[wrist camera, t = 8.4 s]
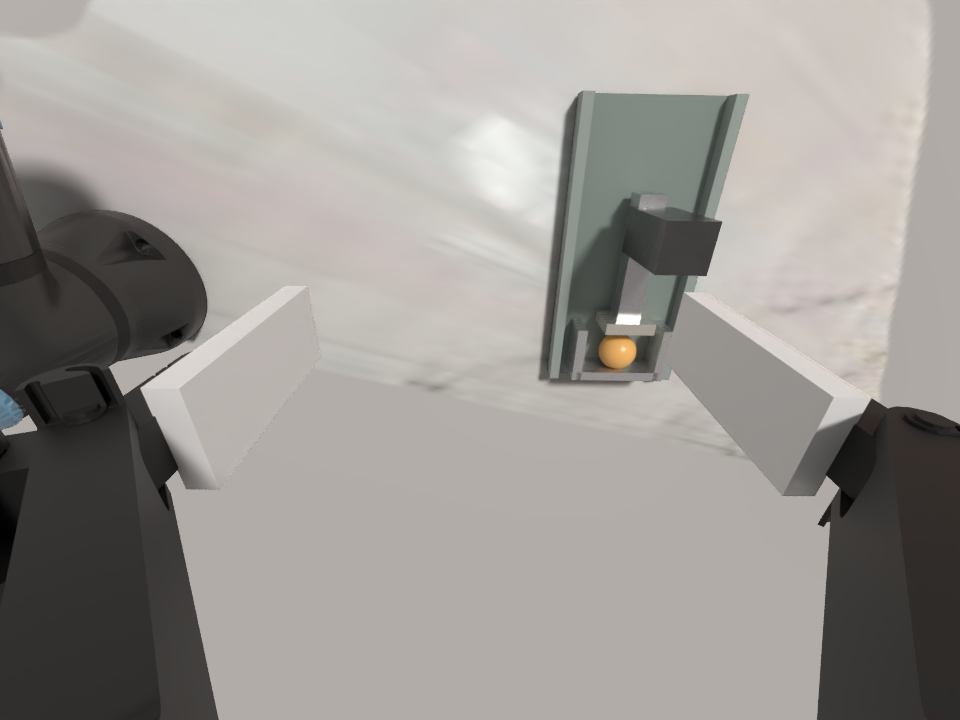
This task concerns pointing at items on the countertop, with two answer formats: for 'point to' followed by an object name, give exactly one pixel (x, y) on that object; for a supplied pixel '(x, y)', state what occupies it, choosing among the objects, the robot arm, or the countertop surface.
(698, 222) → the block
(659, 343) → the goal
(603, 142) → the grey-green channel tray
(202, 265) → the countertop surface
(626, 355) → the ball
